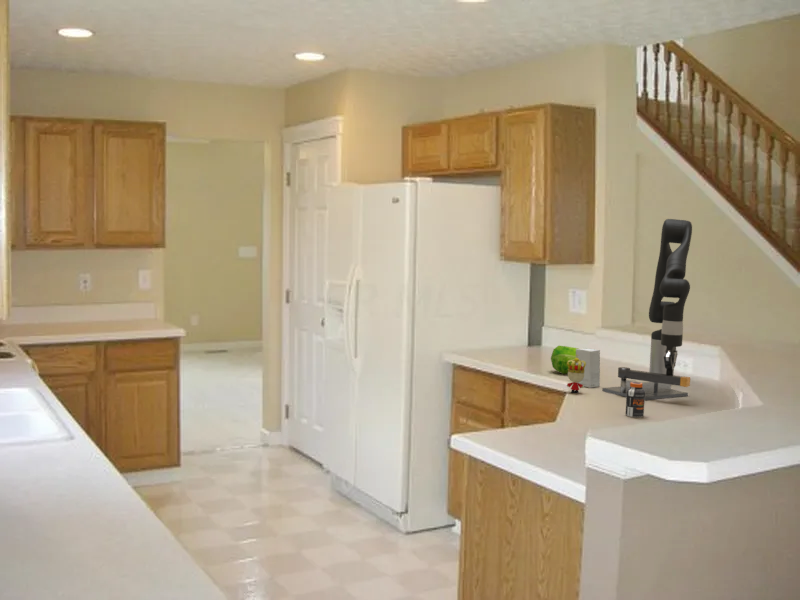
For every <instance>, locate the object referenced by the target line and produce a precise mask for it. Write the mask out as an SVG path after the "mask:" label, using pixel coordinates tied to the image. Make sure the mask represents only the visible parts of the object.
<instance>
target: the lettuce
mask: <svg viewBox="0 0 800 600" xmlns="http://www.w3.org/2000/svg"><path fill="white" fill-rule="evenodd" d="M576 349H580V348H577V347H574V346H566V345H557V346H556V347H554V348H553V350H552V354H551V356H550V361H551V365H552V368H553V369H554V370H555V371H556V372H557V373H560V374H563V375H565V374H567V375H568V365H567V362H568V360H574V359H575V358H576V356H575V355H576ZM571 363H572V361H570V362H569V364H570V366H571ZM575 365H576V363H575Z"/></svg>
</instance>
